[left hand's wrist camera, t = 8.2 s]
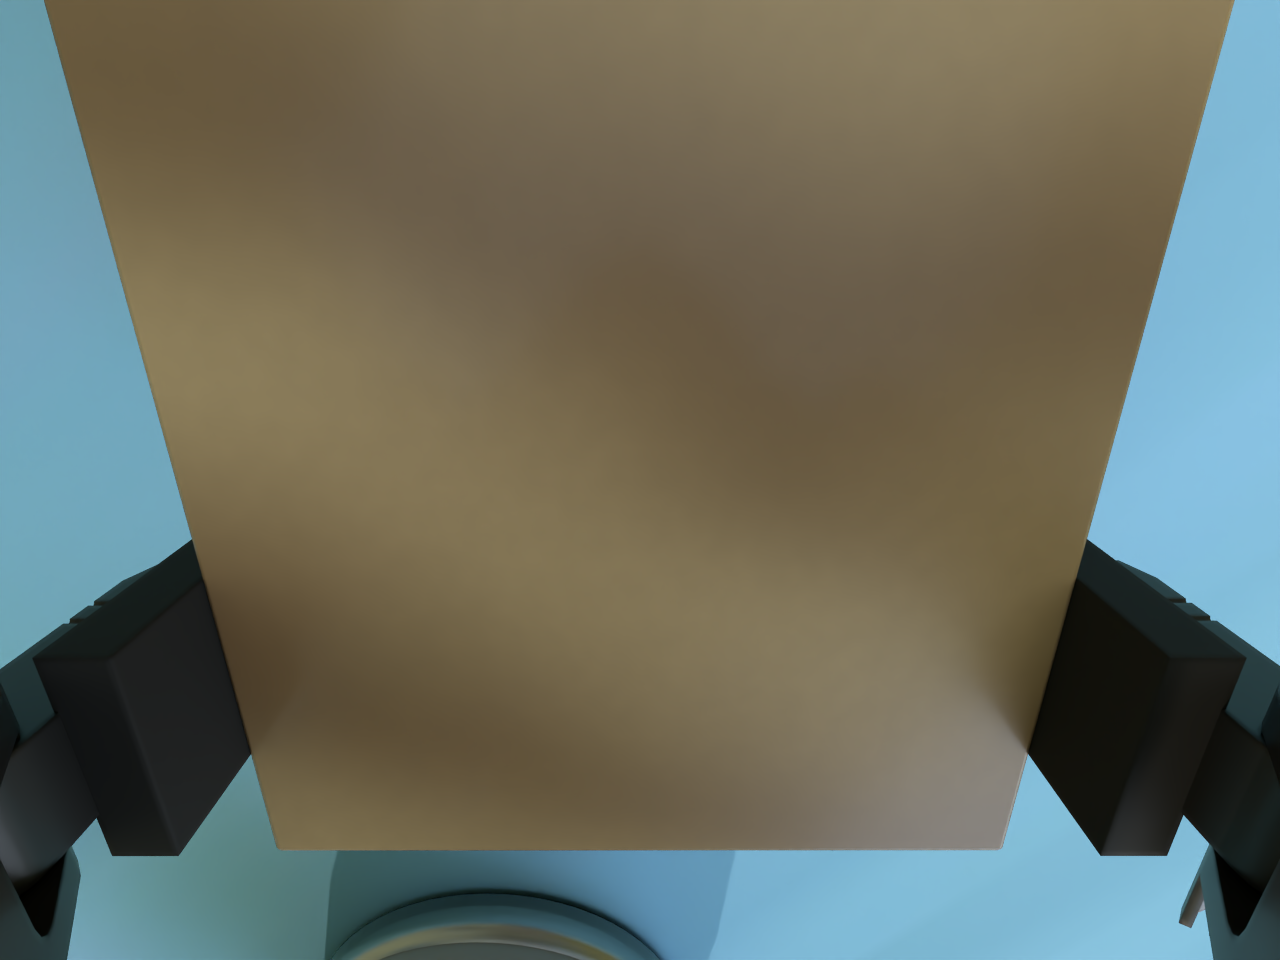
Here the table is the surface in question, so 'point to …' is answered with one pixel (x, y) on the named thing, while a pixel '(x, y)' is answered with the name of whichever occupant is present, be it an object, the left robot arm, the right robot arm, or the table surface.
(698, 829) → the tan cardboard box
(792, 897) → the table surface
